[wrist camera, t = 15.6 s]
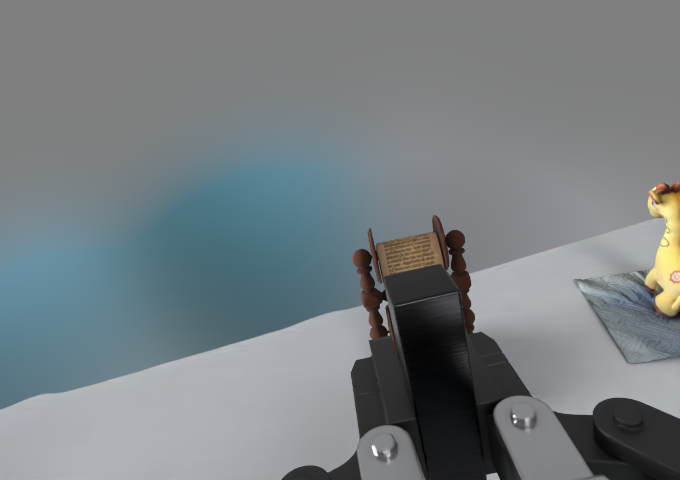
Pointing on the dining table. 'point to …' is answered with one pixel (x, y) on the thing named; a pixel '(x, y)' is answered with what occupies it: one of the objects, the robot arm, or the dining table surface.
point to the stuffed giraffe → (645, 292)
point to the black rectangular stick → (437, 370)
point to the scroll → (410, 257)
